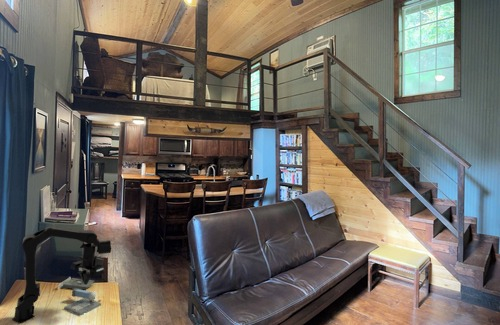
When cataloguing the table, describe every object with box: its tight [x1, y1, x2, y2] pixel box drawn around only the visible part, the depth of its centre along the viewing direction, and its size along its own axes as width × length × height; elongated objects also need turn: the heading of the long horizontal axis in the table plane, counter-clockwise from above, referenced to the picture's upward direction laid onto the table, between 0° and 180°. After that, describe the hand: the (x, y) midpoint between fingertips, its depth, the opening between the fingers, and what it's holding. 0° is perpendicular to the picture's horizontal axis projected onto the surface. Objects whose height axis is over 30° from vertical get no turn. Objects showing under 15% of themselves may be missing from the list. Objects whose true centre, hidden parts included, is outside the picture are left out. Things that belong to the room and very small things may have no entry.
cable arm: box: [71, 288, 97, 301], centre depth 156 cm, size 13×3×4 cm, turn 80°
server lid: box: [64, 298, 102, 316], centre depth 150 cm, size 12×12×2 cm
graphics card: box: [57, 276, 95, 290], centre depth 171 cm, size 17×4×12 cm
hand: (85, 284), depth 151 cm, fingers closed
